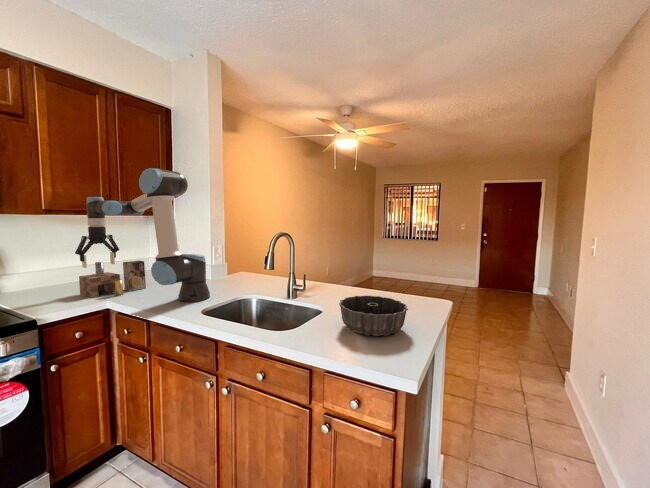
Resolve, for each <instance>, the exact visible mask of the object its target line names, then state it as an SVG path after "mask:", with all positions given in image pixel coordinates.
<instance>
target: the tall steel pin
mask: <svg viewBox="0 0 650 488" xmlns="http://www.w3.org/2000/svg"><path fill="white" fill-rule="evenodd" d="M94 263H95V264H94V265H95V267H94V268H95V274H96V276H97V277H98V276H104V273H105V270H104V269H105V266H104V265H105V264H104V261H95V262H94ZM98 294H99V295H104V294H106V291H105V284H103V285H98Z"/></svg>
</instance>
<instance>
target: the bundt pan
mask: <svg viewBox="0 0 650 488" xmlns="http://www.w3.org/2000/svg"><path fill="white" fill-rule="evenodd" d="M338 304H339V307H340V312H341V320H342V322H343V324H344V325H345V326H346V328H347V329H348V331H352V332H355V333H357V334H361V335H362V334H364V336H367V337H368V336H370V335H372V336H373V337H380V336H384V337H387V336H389V335H393V334H396V333H397V332H398V331H399V330H401V329H402V328H403V327H404V324H405V320H406V319H405V318H406V316H407V315H406V314H407V311H409V308H408V305H407V304H406V303H404V302H402V301H401V300H396V299H394V298H392V297H383V296H380V295H377V296H375V295H354V296H349V297H345V298H344V299H341V300H340V302H339V303H338Z"/></svg>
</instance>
